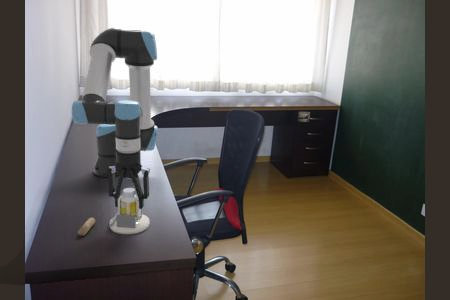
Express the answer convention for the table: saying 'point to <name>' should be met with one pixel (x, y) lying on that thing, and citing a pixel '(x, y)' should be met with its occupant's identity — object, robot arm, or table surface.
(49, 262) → the table surface
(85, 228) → the wick dowel
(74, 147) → the table surface
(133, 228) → the jar holder
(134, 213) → the supplement bottle
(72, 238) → the table surface
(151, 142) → the robot arm
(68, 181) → the table surface
